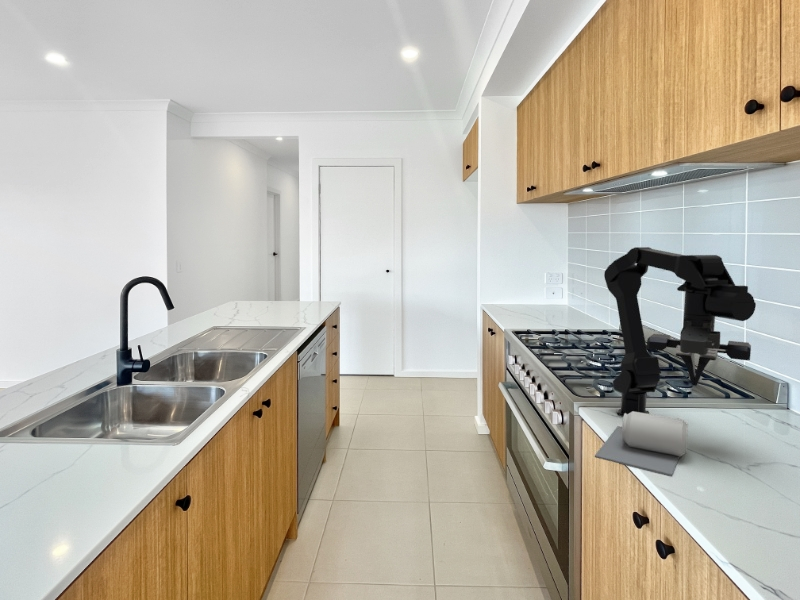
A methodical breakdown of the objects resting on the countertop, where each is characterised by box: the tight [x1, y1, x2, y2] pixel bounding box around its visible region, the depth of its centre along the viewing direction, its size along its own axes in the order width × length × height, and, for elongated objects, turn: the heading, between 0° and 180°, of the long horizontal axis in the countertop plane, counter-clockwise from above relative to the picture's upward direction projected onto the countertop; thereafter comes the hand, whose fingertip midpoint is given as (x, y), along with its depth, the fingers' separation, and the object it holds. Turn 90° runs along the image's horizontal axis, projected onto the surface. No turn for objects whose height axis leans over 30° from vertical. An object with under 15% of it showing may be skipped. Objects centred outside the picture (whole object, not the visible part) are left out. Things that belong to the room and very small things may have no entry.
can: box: [621, 411, 689, 458], centre depth 102 cm, size 8×8×12 cm
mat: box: [594, 425, 680, 477], centre depth 103 cm, size 20×14×1 cm
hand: (694, 385), depth 105 cm, fingers closed
